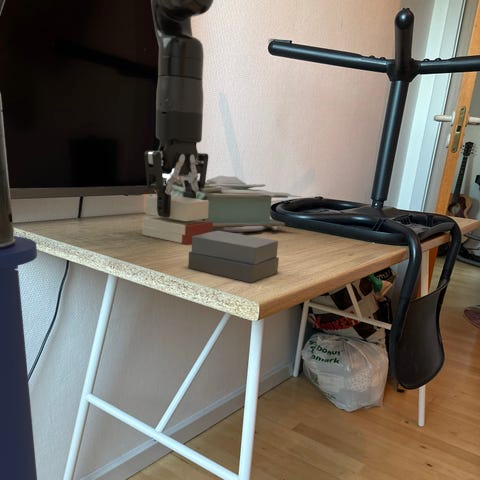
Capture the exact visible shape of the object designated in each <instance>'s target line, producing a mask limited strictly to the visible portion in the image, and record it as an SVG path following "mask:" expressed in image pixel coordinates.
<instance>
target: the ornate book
mask: <svg viewBox="0 0 480 480" xmlns="http://www.w3.org/2000/svg"><path fill="white" fill-rule="evenodd" d="M199 179H200V178H197V181H199ZM189 183H190V181H189ZM263 187H266V184H260V183H259V184H256V183H253V184H249V183H246V182H244V181H243V180H241V179H240V178H239V177H238V176H227V175H217V176H214V177H212V178H208V179H206V181H205V187H204V188H200V189H199V190H198V192H197V193H196V199H200V200H207V201H209V205H208V218H207V219H200V220H201V221H206V222H207V221H209V222H213V231H212V232H214V231H224V232H230V233H250V232H251V233H252V232H261V231H264V230H267V229H268V227H270V228H271V230H273V231H277V230H279V229H280V226H286V222H283V221H279V220H275V219H271V210H272V199H273V198H275V199H279V198H281V199H282V198H283V199H288V198H289V197H290V198H291V197H292V198H302V196H301V195H295V194H291V193H288V192H282V191H281V192H280V191H279V192H277V191H268V190H264V189H253V188H263ZM183 192H186V191H185V190H184V188H183V184H182V181H181V180H180V179H179V178H177V181H176V182H174V183H173V186H172V189H171V192H170V194H169V195H174V196H180V197H183ZM149 196H157V194H152V195H150V194H149Z"/></svg>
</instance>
